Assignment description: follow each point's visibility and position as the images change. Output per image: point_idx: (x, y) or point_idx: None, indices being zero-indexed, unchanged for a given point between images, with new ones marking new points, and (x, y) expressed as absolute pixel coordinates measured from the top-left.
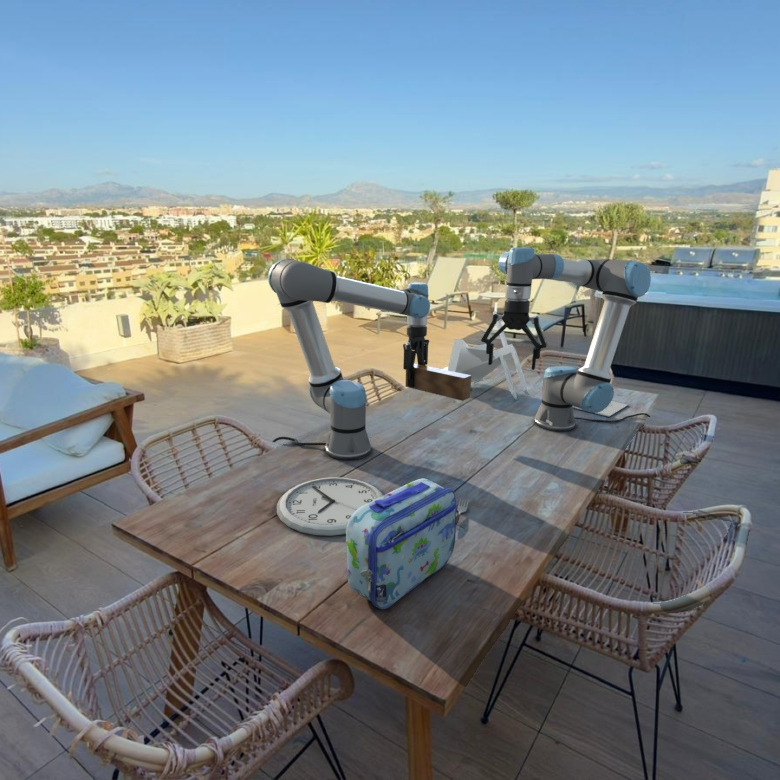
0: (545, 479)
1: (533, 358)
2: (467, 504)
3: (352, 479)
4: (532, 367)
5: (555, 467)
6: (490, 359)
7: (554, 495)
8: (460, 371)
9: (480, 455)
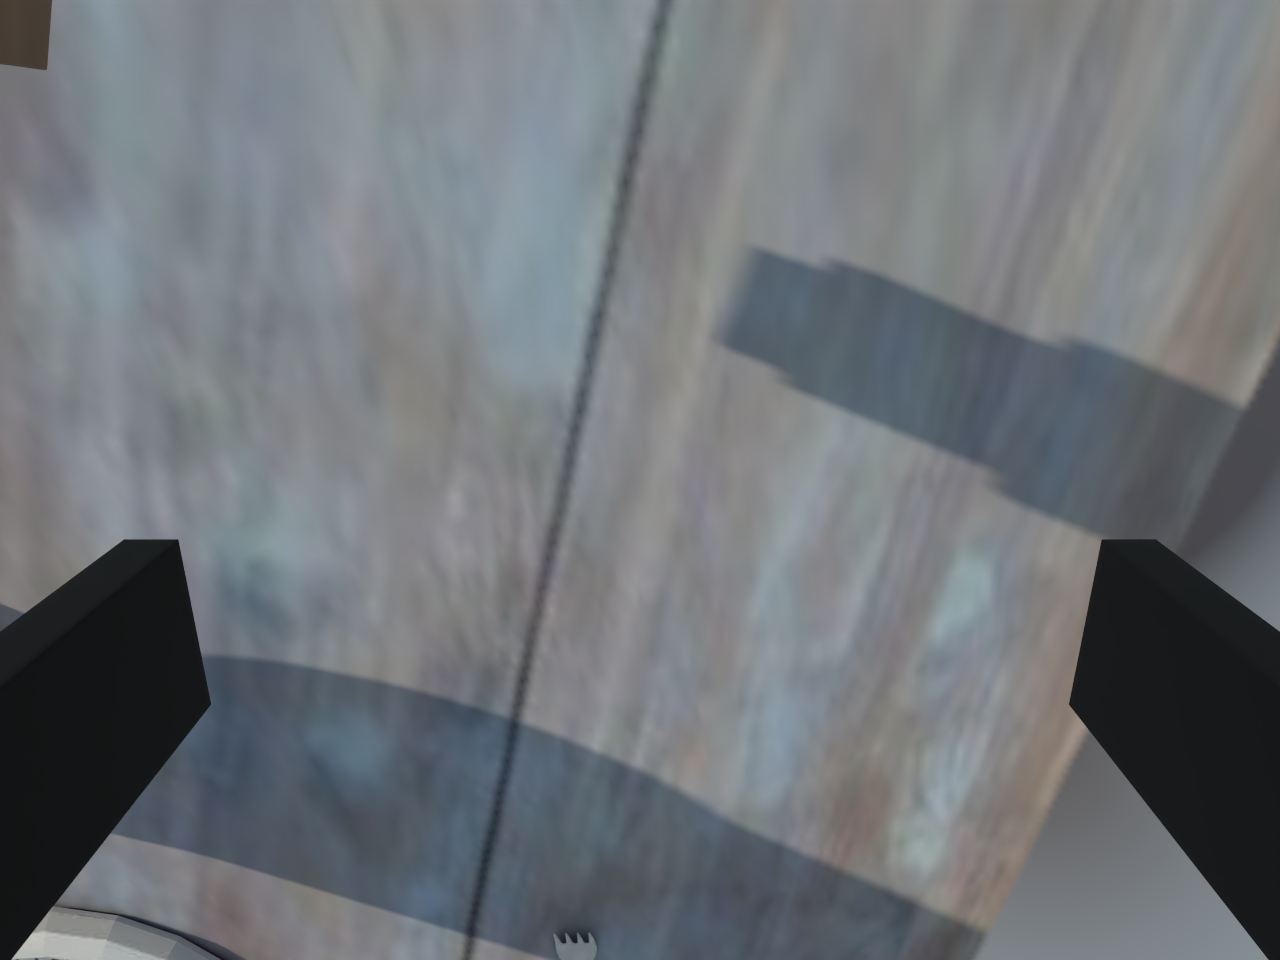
0: (925, 538)
1: (1239, 889)
2: (592, 940)
3: (28, 951)
4: (1107, 734)
5: (991, 350)
6: (132, 789)
7: (968, 690)
8: None
9: (493, 363)
